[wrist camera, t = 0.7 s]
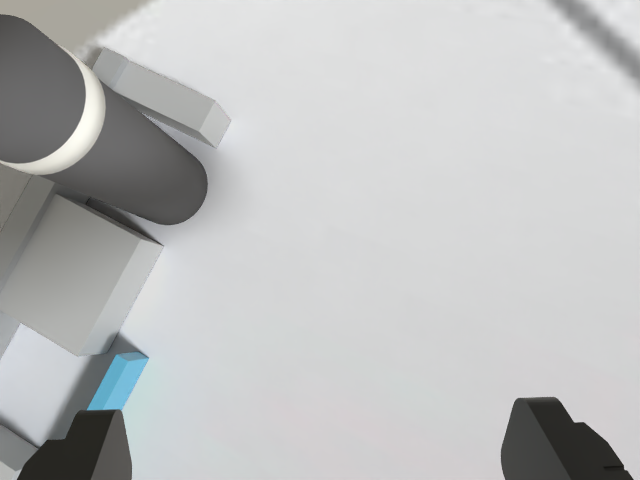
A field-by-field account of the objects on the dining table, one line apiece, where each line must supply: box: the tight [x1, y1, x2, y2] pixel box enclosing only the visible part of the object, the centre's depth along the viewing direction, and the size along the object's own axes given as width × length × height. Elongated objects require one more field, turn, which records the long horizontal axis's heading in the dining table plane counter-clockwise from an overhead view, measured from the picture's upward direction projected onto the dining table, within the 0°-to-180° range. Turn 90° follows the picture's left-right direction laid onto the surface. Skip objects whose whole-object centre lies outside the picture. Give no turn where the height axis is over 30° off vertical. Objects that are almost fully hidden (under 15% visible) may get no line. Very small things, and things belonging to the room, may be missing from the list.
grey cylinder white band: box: [0, 14, 208, 225], centre depth 26 cm, size 5×5×15 cm
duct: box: [0, 47, 231, 480], centre depth 31 cm, size 25×10×4 cm, turn 153°
